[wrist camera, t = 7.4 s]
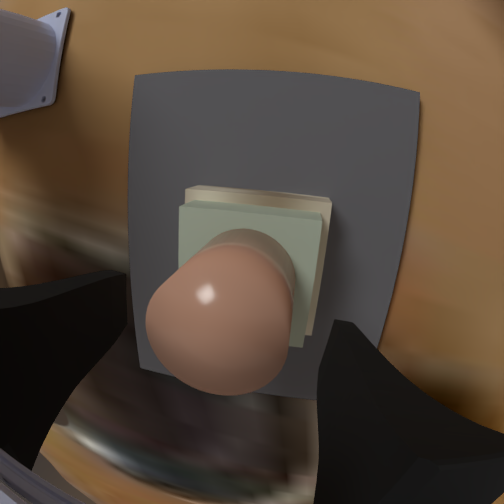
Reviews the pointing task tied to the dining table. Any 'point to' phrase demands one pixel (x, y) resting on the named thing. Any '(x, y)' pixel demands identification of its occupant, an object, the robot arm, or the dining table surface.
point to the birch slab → (276, 201)
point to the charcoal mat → (276, 184)
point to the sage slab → (266, 221)
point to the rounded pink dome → (226, 314)
